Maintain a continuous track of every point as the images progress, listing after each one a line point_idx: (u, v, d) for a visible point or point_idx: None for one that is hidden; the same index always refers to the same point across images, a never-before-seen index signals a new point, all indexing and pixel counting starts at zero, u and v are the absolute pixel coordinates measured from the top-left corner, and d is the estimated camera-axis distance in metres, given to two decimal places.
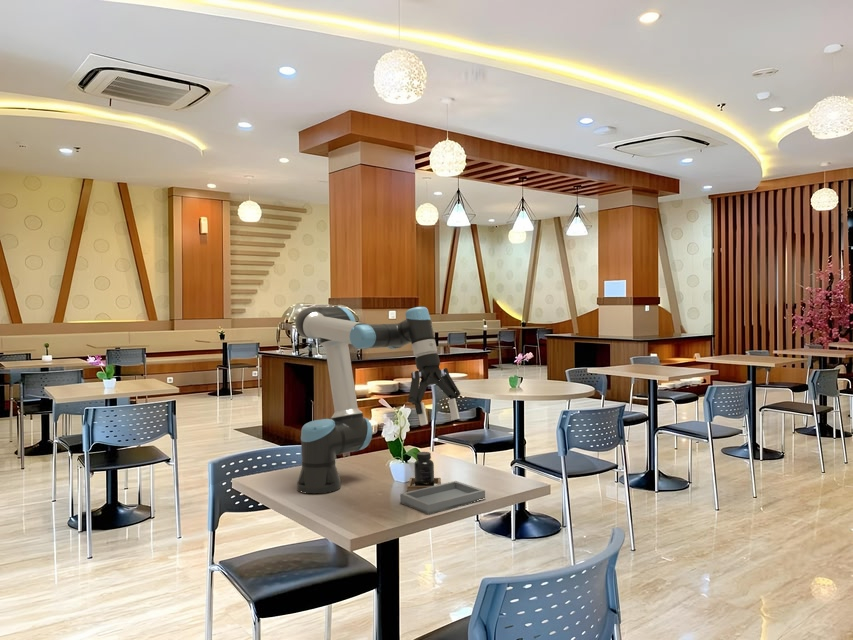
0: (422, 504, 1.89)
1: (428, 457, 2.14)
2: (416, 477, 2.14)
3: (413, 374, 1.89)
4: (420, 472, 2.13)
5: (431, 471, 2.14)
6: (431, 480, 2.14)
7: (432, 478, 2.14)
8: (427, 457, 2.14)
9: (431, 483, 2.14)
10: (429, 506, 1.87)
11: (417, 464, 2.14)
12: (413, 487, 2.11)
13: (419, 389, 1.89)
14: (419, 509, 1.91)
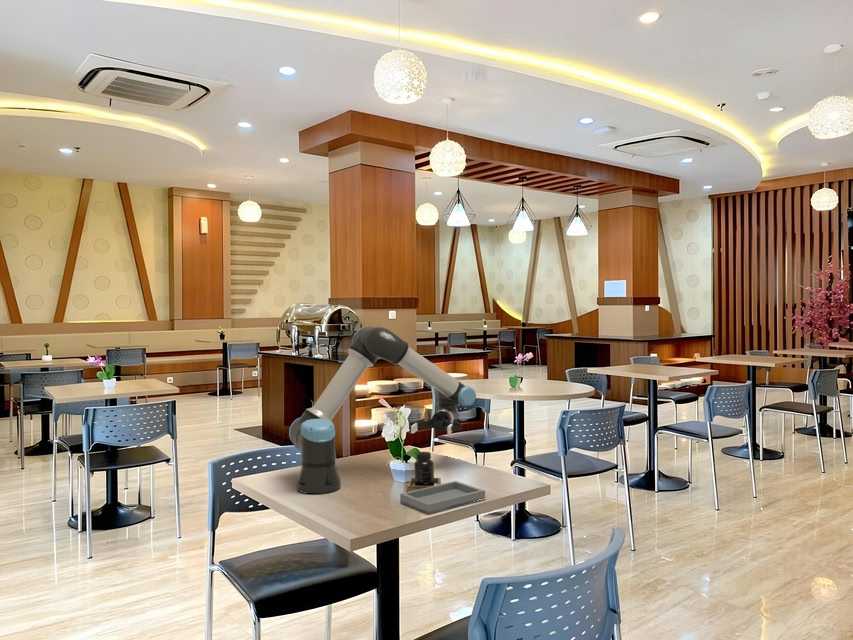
0: (422, 504, 1.89)
1: (428, 457, 2.14)
2: (416, 477, 2.14)
3: None
4: (420, 472, 2.13)
5: (431, 471, 2.14)
6: (431, 480, 2.14)
7: (432, 478, 2.14)
8: (427, 457, 2.14)
9: (431, 483, 2.14)
10: (429, 506, 1.87)
11: (417, 464, 2.14)
12: (413, 487, 2.11)
13: None
14: (419, 509, 1.91)
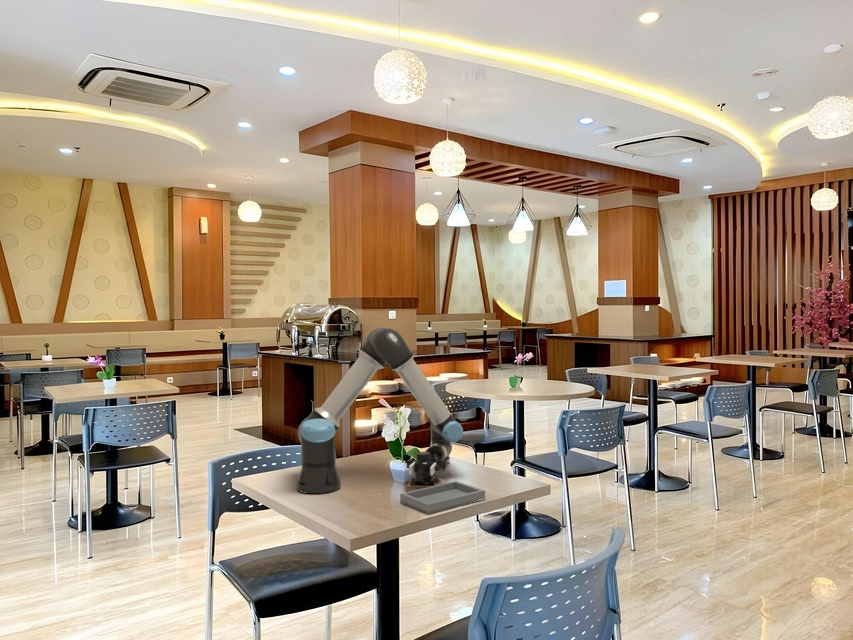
0: (422, 504, 1.89)
1: (428, 457, 2.14)
2: (416, 477, 2.14)
3: (449, 460, 2.25)
4: (420, 472, 2.13)
5: None
6: (431, 480, 2.14)
7: (432, 478, 2.14)
8: (427, 457, 2.14)
9: (431, 483, 2.14)
10: (429, 506, 1.87)
11: (417, 464, 2.14)
12: (413, 487, 2.11)
13: None
14: (419, 509, 1.91)
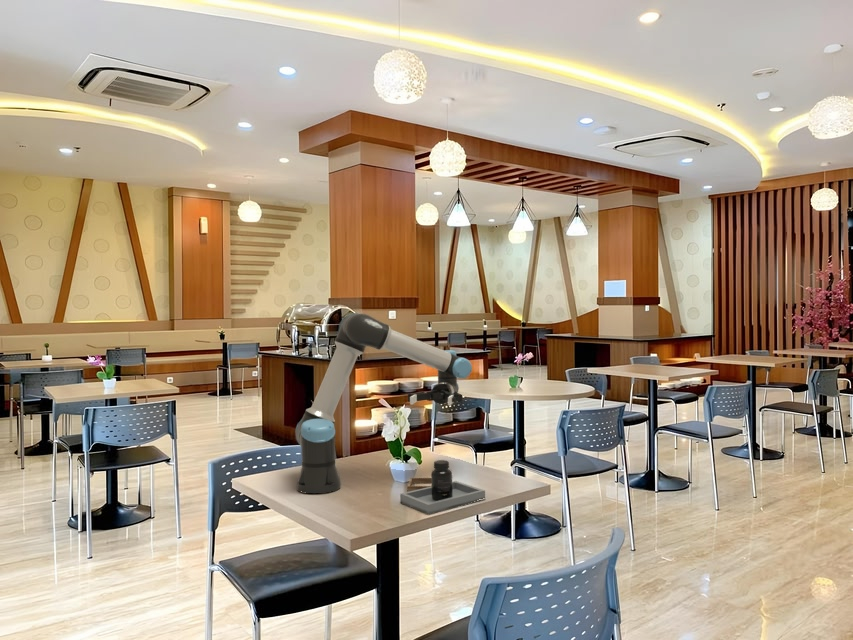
0: (422, 504, 1.89)
1: (446, 466, 1.98)
2: (433, 488, 1.98)
3: None
4: (437, 482, 1.97)
5: (450, 482, 1.98)
6: (450, 492, 1.98)
7: (450, 489, 1.98)
8: (445, 466, 1.98)
9: (449, 494, 1.97)
10: (429, 506, 1.87)
11: (434, 474, 1.98)
12: (413, 487, 2.11)
13: None
14: (419, 509, 1.91)
